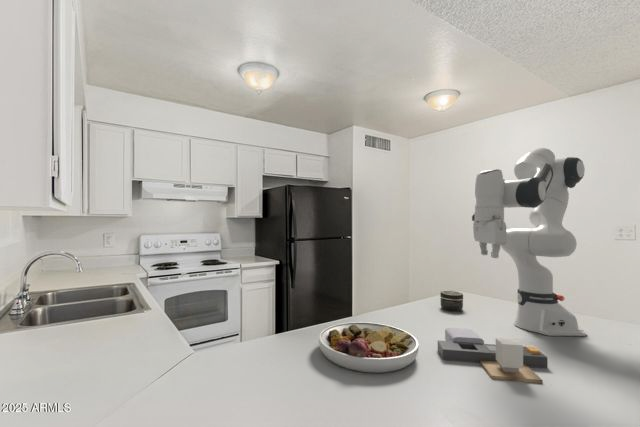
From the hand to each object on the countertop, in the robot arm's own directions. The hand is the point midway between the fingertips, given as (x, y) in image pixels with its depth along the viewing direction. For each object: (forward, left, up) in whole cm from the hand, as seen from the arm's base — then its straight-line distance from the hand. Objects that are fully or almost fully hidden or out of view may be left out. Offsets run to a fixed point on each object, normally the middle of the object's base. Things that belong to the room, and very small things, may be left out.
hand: (489, 256), depth 106 cm
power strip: (+5, +14, -29) cm, 33 cm away
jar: (+2, -41, -29) cm, 51 cm away
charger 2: (+3, +22, -28) cm, 36 cm away
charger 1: (+10, +3, -30) cm, 31 cm away
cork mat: (+3, +22, -29) cm, 37 cm away
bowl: (+41, +17, -30) cm, 53 cm away
